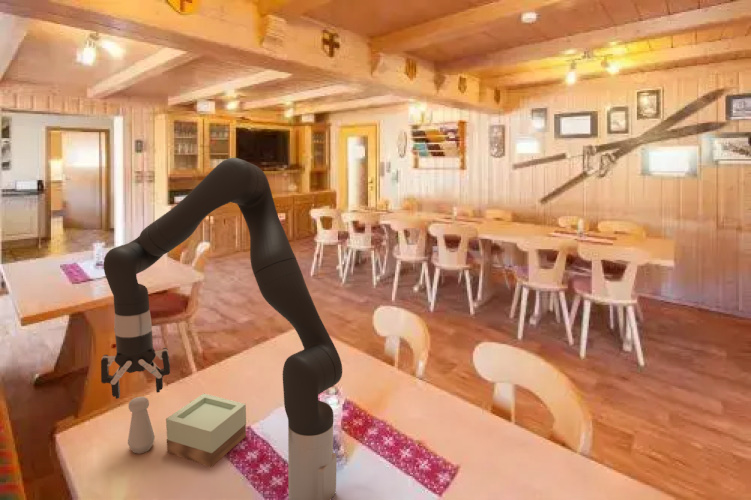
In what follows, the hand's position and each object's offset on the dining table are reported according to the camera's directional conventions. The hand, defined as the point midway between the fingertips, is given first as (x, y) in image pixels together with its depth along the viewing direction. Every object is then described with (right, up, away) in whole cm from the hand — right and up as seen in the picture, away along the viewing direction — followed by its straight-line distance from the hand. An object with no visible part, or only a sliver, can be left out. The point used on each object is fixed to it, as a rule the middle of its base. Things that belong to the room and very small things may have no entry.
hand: (138, 394), depth 110 cm
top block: (+15, -11, +5) cm, 19 cm away
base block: (+15, -15, +5) cm, 21 cm away
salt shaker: (-1, -14, +3) cm, 15 cm away
